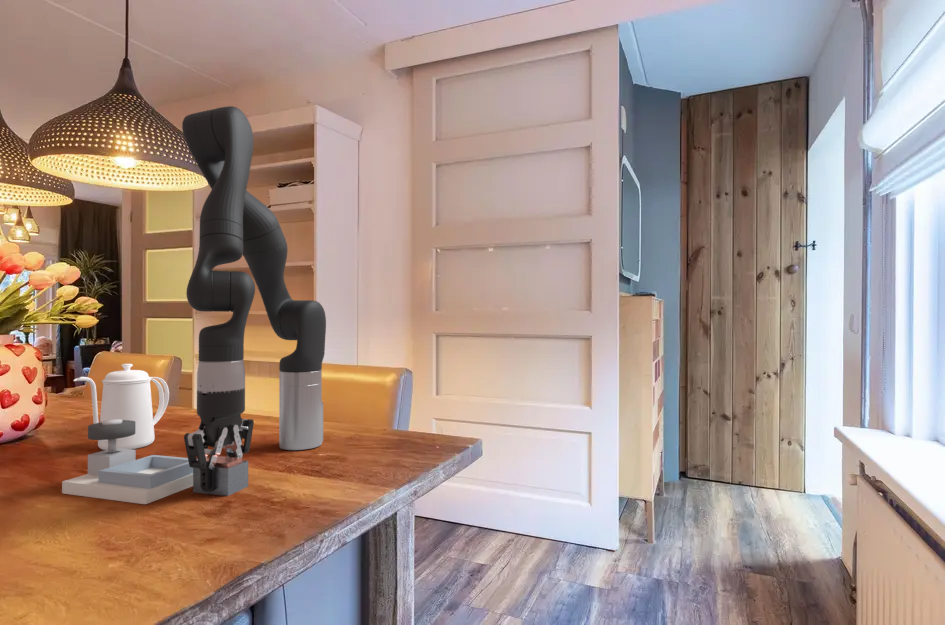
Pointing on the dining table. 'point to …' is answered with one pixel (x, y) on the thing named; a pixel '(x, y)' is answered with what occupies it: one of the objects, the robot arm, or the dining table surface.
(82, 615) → the dining table surface
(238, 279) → the robot arm
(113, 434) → the wheel
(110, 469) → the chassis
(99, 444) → the coffeepot
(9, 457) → the dining table surface
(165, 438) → the dining table surface
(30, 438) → the dining table surface
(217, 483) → the copper topped block
